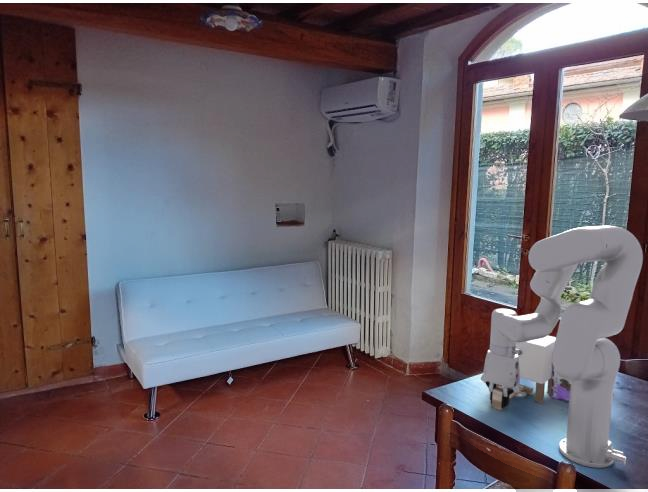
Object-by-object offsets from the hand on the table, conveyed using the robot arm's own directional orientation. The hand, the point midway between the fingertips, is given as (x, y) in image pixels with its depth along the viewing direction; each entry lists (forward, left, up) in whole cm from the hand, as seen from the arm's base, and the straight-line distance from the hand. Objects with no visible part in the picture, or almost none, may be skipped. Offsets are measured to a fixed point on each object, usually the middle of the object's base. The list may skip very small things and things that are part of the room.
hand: (499, 404), depth 152 cm
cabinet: (0, -19, -1) cm, 19 cm away
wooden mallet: (0, -8, -1) cm, 8 cm away
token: (0, -14, -1) cm, 14 cm away
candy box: (-15, -23, -1) cm, 27 cm away
